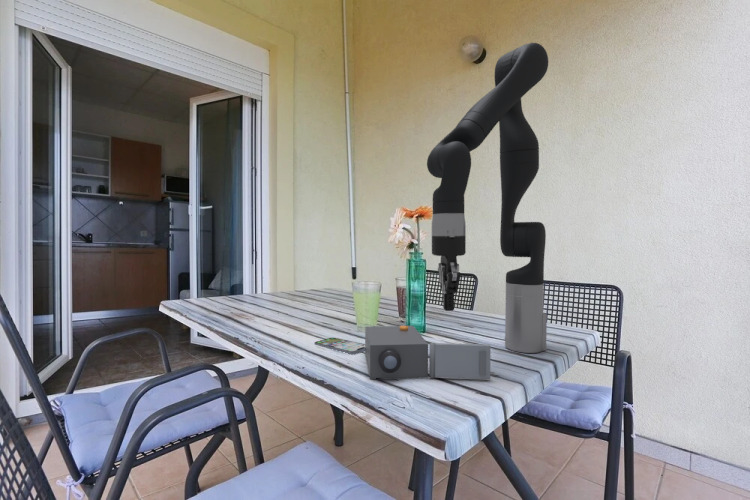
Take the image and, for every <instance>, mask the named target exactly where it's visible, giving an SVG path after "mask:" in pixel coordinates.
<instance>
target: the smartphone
mask: <svg viewBox="0 0 750 500" xmlns="http://www.w3.org/2000/svg"><path fill="white" fill-rule="evenodd" d="M314 345H315V346H320V347H323V348H325V349H329V350H332V349H333V351H336V350H337V351H336V352H339V351H341V353H343V352H345V353H344V354H346V353H348V354H347V355H350V354H354V355H357V354H360V353H363V352H365V343H362V342H361V343H360V342H357V341H352V340H348V339H342V338H338V337H328V338H325V339H321V340H317V341H314ZM362 351H363V352H362ZM359 352H360V353H359ZM356 353H357V354H356Z"/></svg>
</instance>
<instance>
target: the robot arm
mask: <svg viewBox="0 0 750 500" xmlns="http://www.w3.org/2000/svg"><path fill="white" fill-rule="evenodd" d="M548 56H549V55H548V52H547V50H546V49H545V47H544V46H543V45H541V44H540V43H537V42H529V43H526V44H523V45H521V46H519V47H516V48H515V49H513V50H511V51H508V52H506V53H504V54H503V55H501V56H500V57H499V58H498V59H497V61H496V64H495V67H494V88H493V89H491V90H490V91H488V92H487V93H486V94H485V95H484V96H483V97H481V98H480V99H479V100H477V102H476V103H475V104H473V105H472V107H471V108H470V109H469V110H467V112H466V113H465V114H464V116H463V117H462V118H461V120H459V121H458V123H457V124H456V126H455V127H454V128H453V130H451V131H450V132H449V133H448V134H447V135H445V136H444V137H443V139H442V140H440V141H439V142H438V143H437V144H436V145H435V146H434V147H433V149H431V151H430V152H429V154H428V156H427V159H426V160H427V161H426V168H427V171H428V172H429V173H430V175H431V176H432V177H435V178H438V179H441V181H440V185H439V186H438V187H437V188H436V189H435V190H433V193H432V218H431V220H432V221H431V254H432V256H437V257H440V262H438V267H437V271H438V278H439V285H440V286H439V287H440V290H441V292H442V297H443V298H442V301H443V302H442V307H443V310H444V311H446V312H452V311H454V310H455V295H456V293H458V290H459V285H460V280H461V277H462V274H461V271H460V264H459V263H458V258H457V257H459V256H460V257H461V256H465V255H466V253H467V252H466V249H467V247H466V244H467V243H466V237H467V236H466V234H467V233H466V232H467V231H466V219H465V194H466V191H467V186H468V182H469V178H470V173H471V168H472V157H471V152H472V151H474V150H476V149H477V148H478V147H480V145H481V144H482V143H483V142H484V141H485V140H486V138H487V137H488V136H489V135H490V133H491V132H492V131H493V130H494V128H495V127H496V125H499V128H498V129H499V169H500V173H499V174H500V187H501V188H500V189H501V191H500V192H501V207H500V208H501V211H500V233H499V234H500V239H499V240H500V241H499V242H500V244H499V245H500V251H501V254H503V256H504V257H507V258H508V257H511V258H530V260H529V261H528V263H526V264H525V265H524V266H522V267H519V268H518V267H517V268H515V269H512V270H509V271H507V272H506V274H505V316H504V317H505V319H504V325H505V326H504V346H505V349H508V350H511V351H513V352H517V353H518V352H519V353H525V354H528V353H529V354H536V353H541V352H543V351H547V331H548V330H547V329H548V327H547V325H548V324H547V322H548V319H547V318H548V315H547V313H545V312H544V300H545V299H544V294H545V293H544V292H545V291H544V289H545V288H544V287H545V285H544V283H545V282H544V281H545V280H544V279H545V275H544V272H545V271H544V270H545V253H546V252H545V251H546V240H547V239H546V238H547V237H546V233H547V232H546V227H545V225H544V224H543V223H542V222H540V221H522V222H521V221H516V222H515V217H516V212H517V209H518V207H519V204H520V202H521V201H522V198H523V197H524V195H525V194H526V192H527V191H528V189H529V187H530V186H531V184H532V183H533V181H534V180H535V178H536V177H537V174H538V171H539V169H540V147H539V146H540V145H539V140H538V137H537V135H536V134H535V131H534V130H533V128H532V126H531V124H530V123H529V122H528V120H527V119H526V117H525V115H524V111H523V107H522V98H523V97H524V96H525V95H526V94H527V93H528V92H529V91H530V90H531V89H532V88H533V87H535V86H536V85H537V84H538V83H540V81H541V80H543V78H544V77H545V76H546V73H547V72H548V69H549V68H548V67H549V57H548ZM459 271H460V272H459Z"/></svg>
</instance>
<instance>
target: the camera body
mask: <svg viewBox="0 0 750 500" xmlns="http://www.w3.org/2000/svg"><path fill="white" fill-rule="evenodd" d="M364 329H365V331H364V335H365V336H364V337H365V342H364V344H365V351H364V355H365V360H366V366H367V372H368V376H370V377H369V380H377V379H376V378H400V379H420V378H419V377H428V378H429V343H428V342H427V341H426V339H424V337H423V336H422V334H421V333H420V332H419V331H418V330H417V328H416V327H415V326H414V325H391V326H390V325H384V326H381V325H380V326H379V325H377V326H365V328H364Z"/></svg>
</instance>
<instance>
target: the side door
mask: <svg viewBox="0 0 750 500" xmlns="http://www.w3.org/2000/svg"><path fill="white" fill-rule="evenodd" d="M428 378H432V379H433V378H440V379H446V378H447V379H466V380H467V379H469V380H471V379H472V380H475V379H476V380H491V345H490V344H483V343H482V344H481V343H477V344H476V343H448V342H447V343H445V342H444V343H443V342H430V343H429V358H428Z"/></svg>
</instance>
